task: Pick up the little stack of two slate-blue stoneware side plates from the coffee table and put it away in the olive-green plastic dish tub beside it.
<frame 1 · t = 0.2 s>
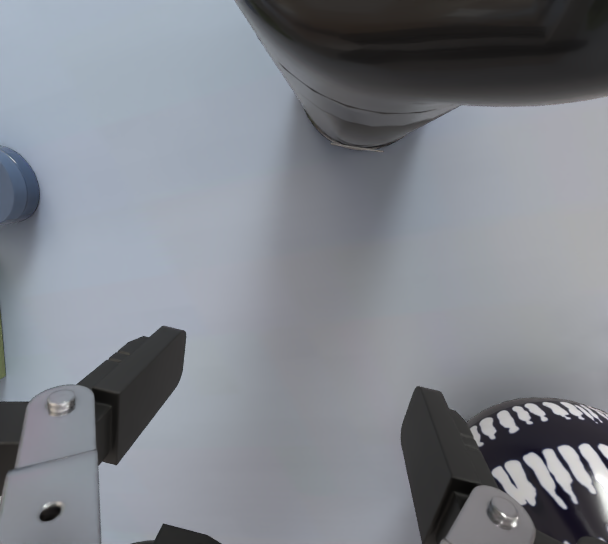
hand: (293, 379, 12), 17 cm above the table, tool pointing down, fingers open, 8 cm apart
vase: (511, 438, 31), on the table
plates: (4, 184, 29), on the table
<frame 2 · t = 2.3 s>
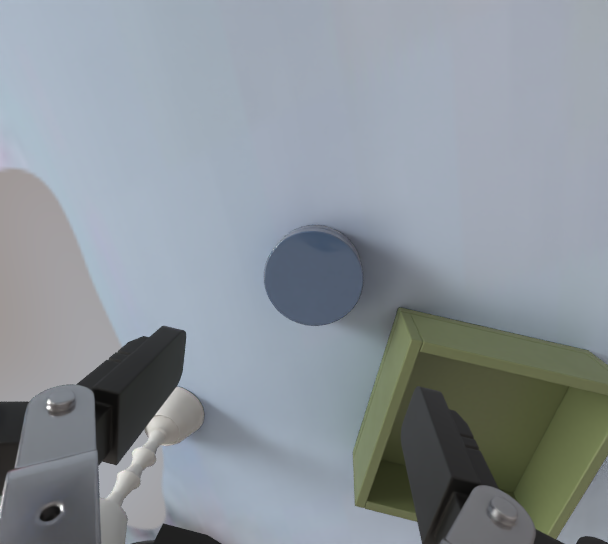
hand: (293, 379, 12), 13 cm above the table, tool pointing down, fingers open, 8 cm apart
chalice: (176, 409, 29), on the table
tub: (460, 405, 26), on the table
plates: (315, 269, 24), on the table
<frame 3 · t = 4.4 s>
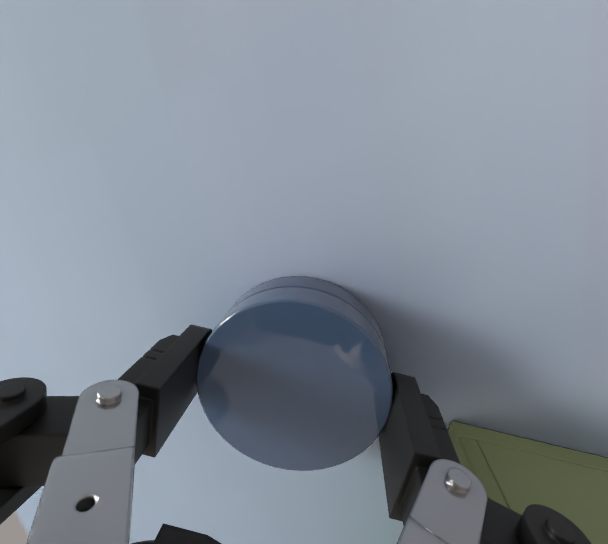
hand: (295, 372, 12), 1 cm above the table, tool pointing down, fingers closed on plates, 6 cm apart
plates: (300, 354, 13), on the table, touching gripper
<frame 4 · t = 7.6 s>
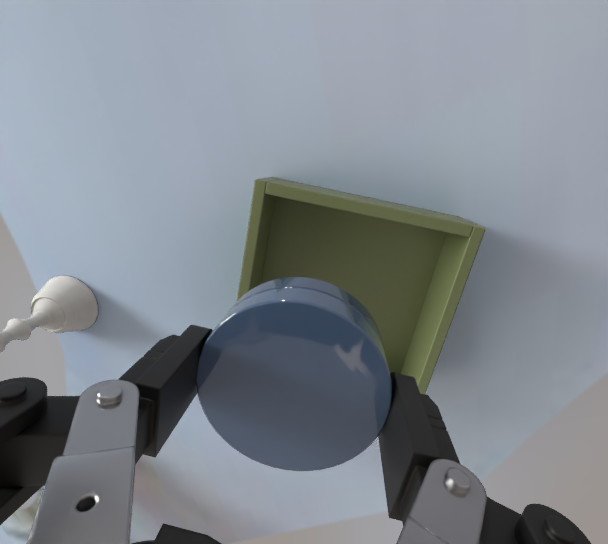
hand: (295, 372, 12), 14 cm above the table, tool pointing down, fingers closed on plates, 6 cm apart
chalice: (71, 302, 29), on the table
tub: (342, 284, 26), on the table
plates: (300, 354, 13), point 13 cm above the table, touching gripper
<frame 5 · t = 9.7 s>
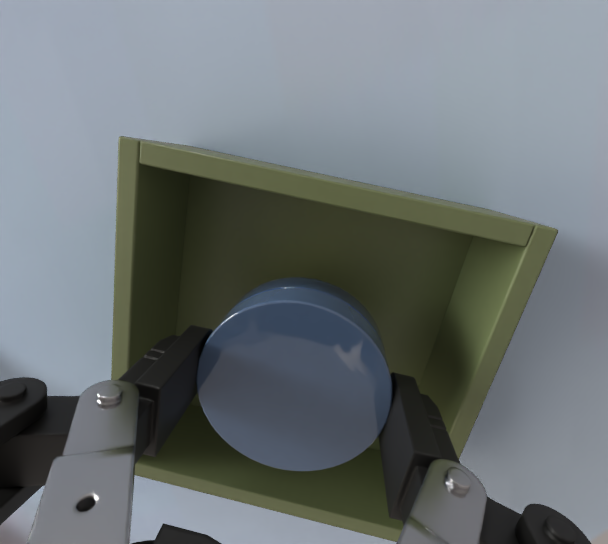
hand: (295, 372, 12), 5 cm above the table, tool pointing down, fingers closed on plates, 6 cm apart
tub: (304, 316, 17), on the table
plates: (300, 355, 13), point 4 cm above the table, touching gripper
when the fingers open (2 cm above the table, at t = 11.2 s): plates stays where it is, resting on tub.
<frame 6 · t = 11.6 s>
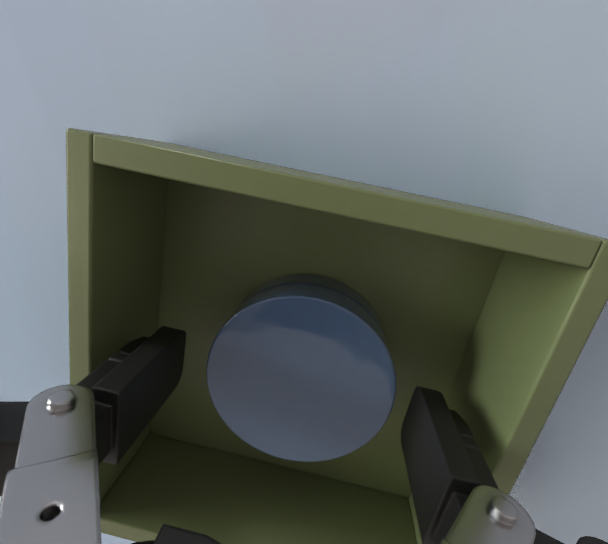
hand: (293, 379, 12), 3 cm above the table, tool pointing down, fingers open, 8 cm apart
tub: (304, 340, 14), on the table
plates: (305, 349, 14), point 1 cm above the table, touching tub
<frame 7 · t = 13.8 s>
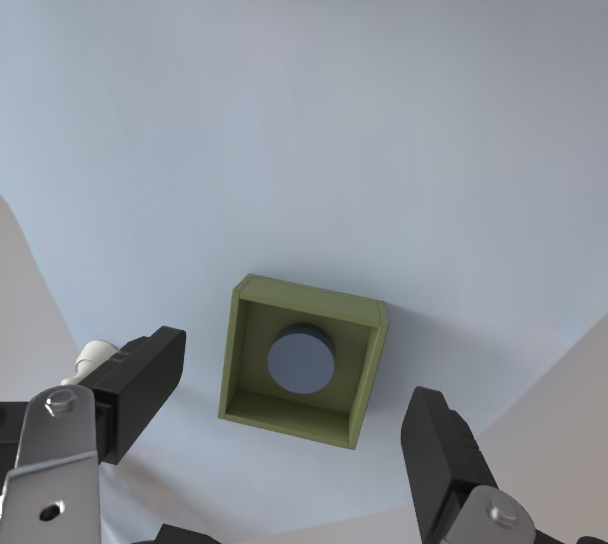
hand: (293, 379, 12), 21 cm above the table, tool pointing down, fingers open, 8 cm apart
chalice: (103, 359, 39), on the table
tub: (303, 347, 35), on the table
plates: (303, 351, 34), point 1 cm above the table, touching tub
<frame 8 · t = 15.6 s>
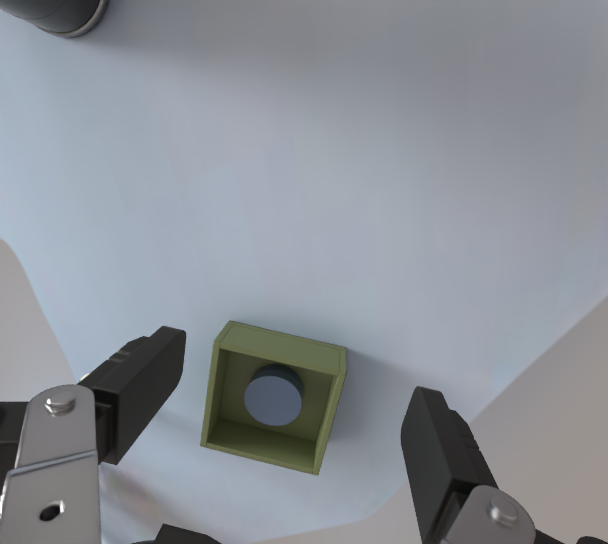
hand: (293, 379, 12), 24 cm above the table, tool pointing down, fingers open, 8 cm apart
tub: (276, 384, 40), on the table
plates: (276, 388, 39), point 1 cm above the table, touching tub
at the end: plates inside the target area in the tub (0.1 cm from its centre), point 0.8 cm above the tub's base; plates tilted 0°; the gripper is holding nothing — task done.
